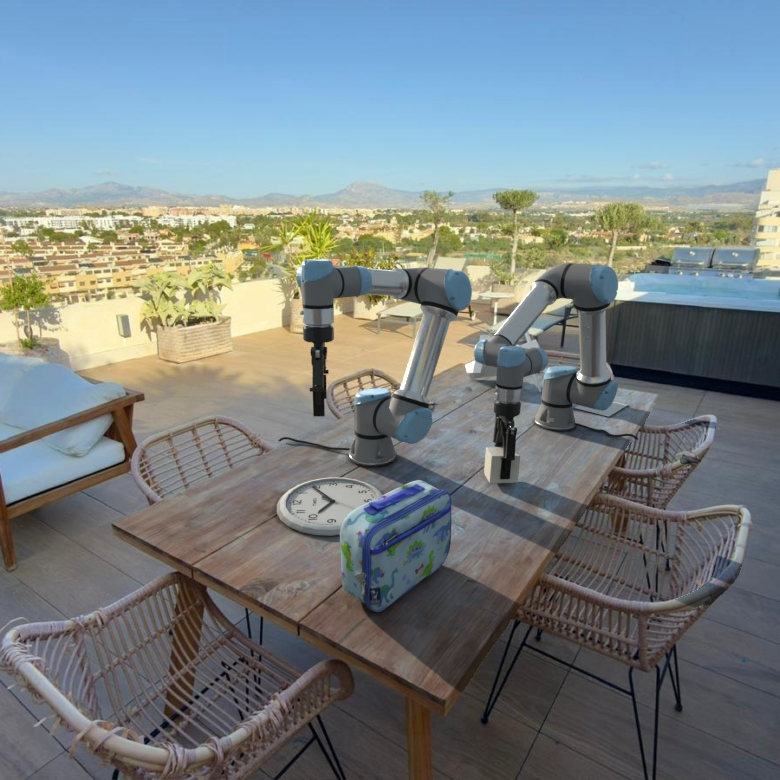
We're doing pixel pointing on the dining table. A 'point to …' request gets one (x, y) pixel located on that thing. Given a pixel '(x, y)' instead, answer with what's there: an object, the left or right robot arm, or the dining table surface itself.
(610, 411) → the invitation card
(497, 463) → the brick
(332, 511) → the wall clock
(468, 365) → the white plastic object
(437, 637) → the dining table surface
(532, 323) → the right robot arm
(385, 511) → the lunch box
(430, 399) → the fork
